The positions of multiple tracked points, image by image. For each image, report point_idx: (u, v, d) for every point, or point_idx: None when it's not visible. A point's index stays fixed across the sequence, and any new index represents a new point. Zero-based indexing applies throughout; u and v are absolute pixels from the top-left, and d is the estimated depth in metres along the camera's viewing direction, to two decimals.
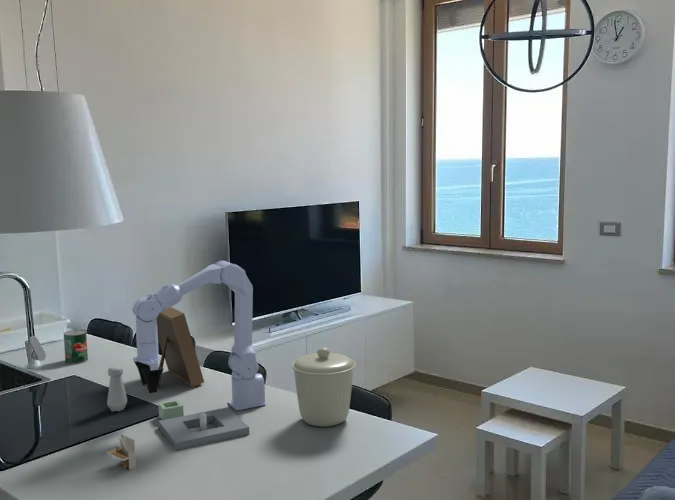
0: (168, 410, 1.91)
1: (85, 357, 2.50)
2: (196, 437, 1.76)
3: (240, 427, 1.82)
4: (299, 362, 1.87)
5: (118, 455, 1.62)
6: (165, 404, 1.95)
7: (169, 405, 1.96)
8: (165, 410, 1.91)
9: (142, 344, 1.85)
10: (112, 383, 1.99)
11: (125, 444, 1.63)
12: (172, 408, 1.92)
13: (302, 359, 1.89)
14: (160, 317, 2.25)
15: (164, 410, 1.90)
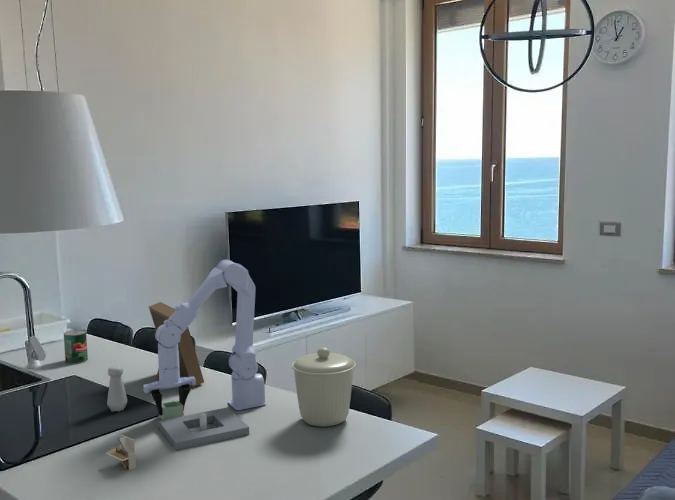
0: (168, 410, 1.91)
1: (85, 357, 2.50)
2: (196, 437, 1.76)
3: (240, 427, 1.82)
4: (299, 362, 1.87)
5: (118, 455, 1.62)
6: (165, 404, 1.95)
7: (169, 405, 1.96)
8: (165, 410, 1.91)
9: None
10: (112, 383, 1.99)
11: (125, 444, 1.63)
12: (172, 408, 1.92)
13: (302, 359, 1.89)
14: (160, 317, 2.25)
15: (164, 410, 1.90)
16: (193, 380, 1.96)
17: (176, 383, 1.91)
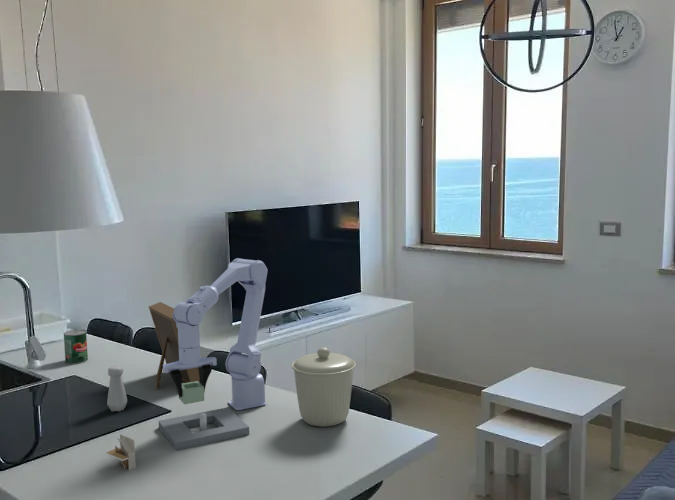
0: (188, 391, 1.83)
1: (85, 357, 2.50)
2: (196, 437, 1.76)
3: (240, 427, 1.82)
4: (299, 362, 1.87)
5: (118, 455, 1.62)
6: (185, 385, 1.88)
7: (189, 386, 1.88)
8: (185, 391, 1.83)
9: None
10: (112, 383, 1.99)
11: (125, 444, 1.63)
12: (192, 389, 1.84)
13: (302, 359, 1.89)
14: (160, 317, 2.25)
15: (184, 391, 1.83)
16: (214, 360, 1.88)
17: (197, 363, 1.84)
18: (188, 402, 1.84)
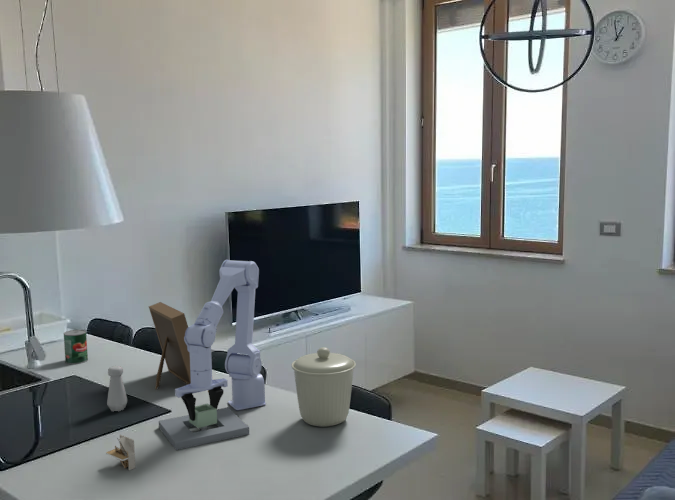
0: (202, 414, 1.81)
1: (85, 357, 2.50)
2: (196, 437, 1.76)
3: (240, 427, 1.82)
4: (299, 362, 1.87)
5: (117, 455, 1.62)
6: (196, 408, 1.85)
7: (200, 409, 1.86)
8: (199, 415, 1.80)
9: None
10: (112, 383, 1.99)
11: (124, 444, 1.63)
12: (206, 412, 1.82)
13: (302, 359, 1.89)
14: (160, 317, 2.25)
15: (198, 415, 1.80)
16: (225, 382, 1.86)
17: (210, 386, 1.82)
18: (202, 426, 1.81)
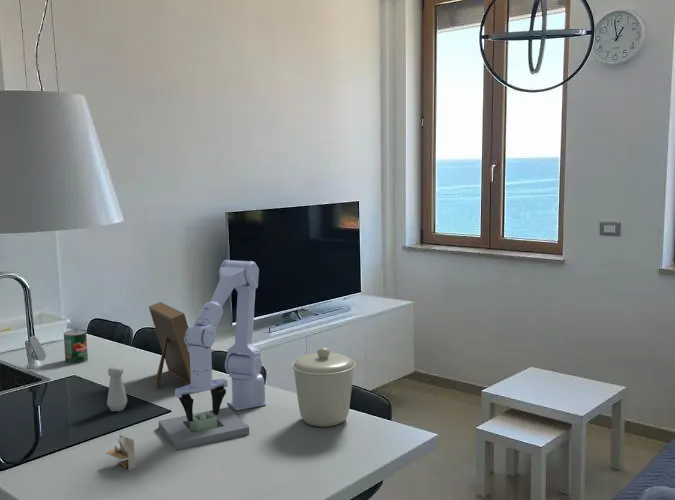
0: (202, 423, 1.81)
1: (85, 357, 2.50)
2: (196, 437, 1.76)
3: (240, 427, 1.82)
4: (299, 362, 1.87)
5: (117, 455, 1.62)
6: (196, 417, 1.85)
7: None
8: (199, 423, 1.81)
9: None
10: (112, 383, 1.99)
11: (124, 444, 1.63)
12: (206, 421, 1.82)
13: (302, 359, 1.89)
14: (160, 317, 2.25)
15: (198, 423, 1.81)
16: (225, 382, 1.86)
17: (210, 386, 1.82)
18: None
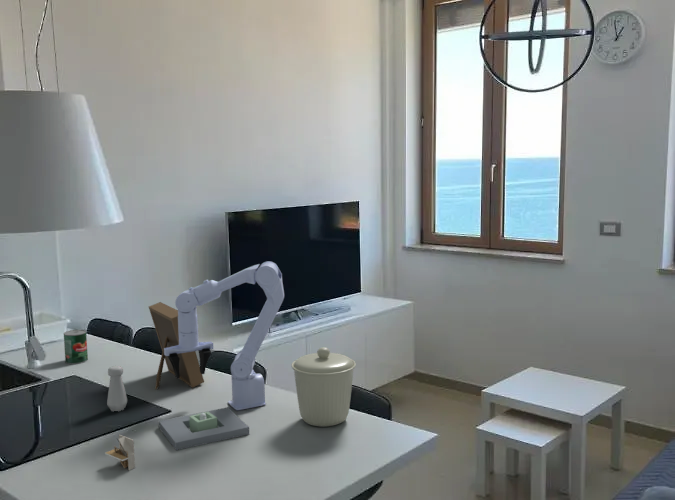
0: (202, 423, 1.81)
1: (85, 357, 2.50)
2: (196, 437, 1.76)
3: (240, 427, 1.82)
4: (299, 362, 1.87)
5: (117, 455, 1.62)
6: (196, 417, 1.85)
7: None
8: (199, 423, 1.81)
9: None
10: (112, 383, 1.99)
11: (124, 444, 1.63)
12: (206, 421, 1.82)
13: (302, 359, 1.89)
14: (160, 317, 2.25)
15: (198, 423, 1.81)
16: (211, 344, 2.04)
17: (195, 347, 2.00)
18: None
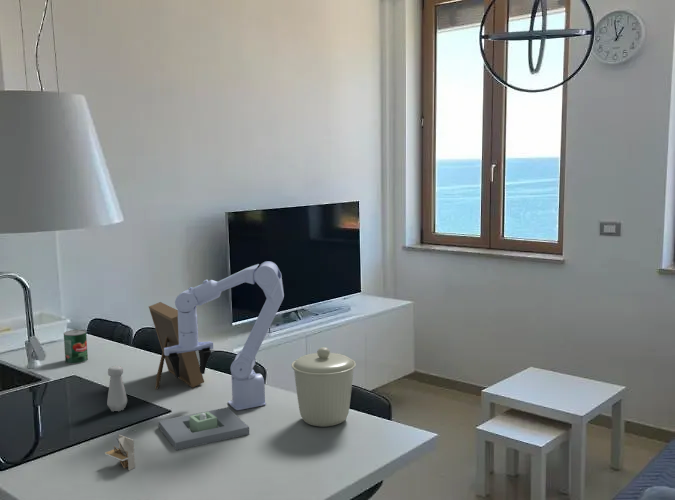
0: (202, 423, 1.81)
1: (85, 357, 2.50)
2: (196, 437, 1.76)
3: (240, 427, 1.82)
4: (299, 362, 1.87)
5: (117, 455, 1.62)
6: (196, 417, 1.85)
7: None
8: (199, 423, 1.81)
9: None
10: (112, 383, 1.99)
11: (124, 444, 1.63)
12: (206, 421, 1.82)
13: (302, 359, 1.89)
14: (160, 317, 2.25)
15: (198, 423, 1.81)
16: (211, 344, 2.04)
17: (195, 346, 2.00)
18: None
